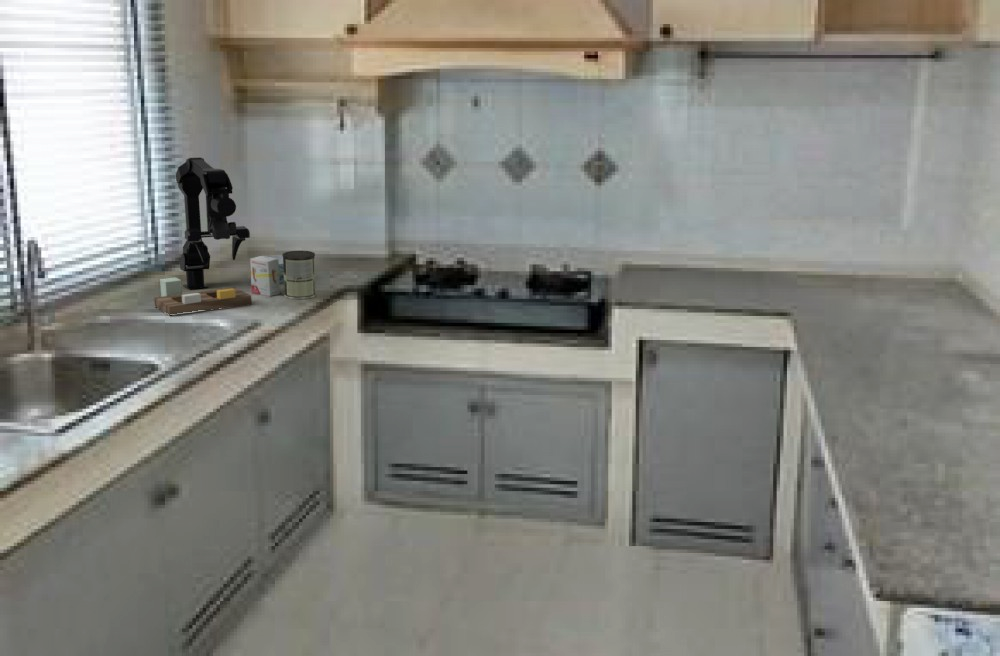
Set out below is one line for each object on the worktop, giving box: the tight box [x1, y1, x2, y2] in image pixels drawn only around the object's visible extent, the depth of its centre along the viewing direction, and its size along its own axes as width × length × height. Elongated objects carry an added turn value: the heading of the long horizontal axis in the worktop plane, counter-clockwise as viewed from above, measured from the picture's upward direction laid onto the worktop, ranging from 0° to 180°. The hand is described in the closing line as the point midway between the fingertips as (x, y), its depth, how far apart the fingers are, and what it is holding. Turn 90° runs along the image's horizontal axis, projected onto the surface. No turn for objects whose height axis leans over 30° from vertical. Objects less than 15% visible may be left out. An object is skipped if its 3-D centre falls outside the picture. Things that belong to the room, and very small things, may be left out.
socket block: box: [153, 286, 253, 315], centre depth 307 cm, size 13×26×5 cm, turn 128°
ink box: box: [249, 255, 281, 297], centre depth 324 cm, size 9×5×12 cm, turn 57°
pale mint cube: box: [159, 277, 183, 297], centre depth 312 cm, size 5×5×7 cm
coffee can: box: [281, 250, 317, 300], centre depth 321 cm, size 10×10×14 cm
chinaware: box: [265, 254, 284, 284], centre depth 341 cm, size 15×15×8 cm
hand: (218, 261), depth 306 cm, fingers open, 9 cm apart
